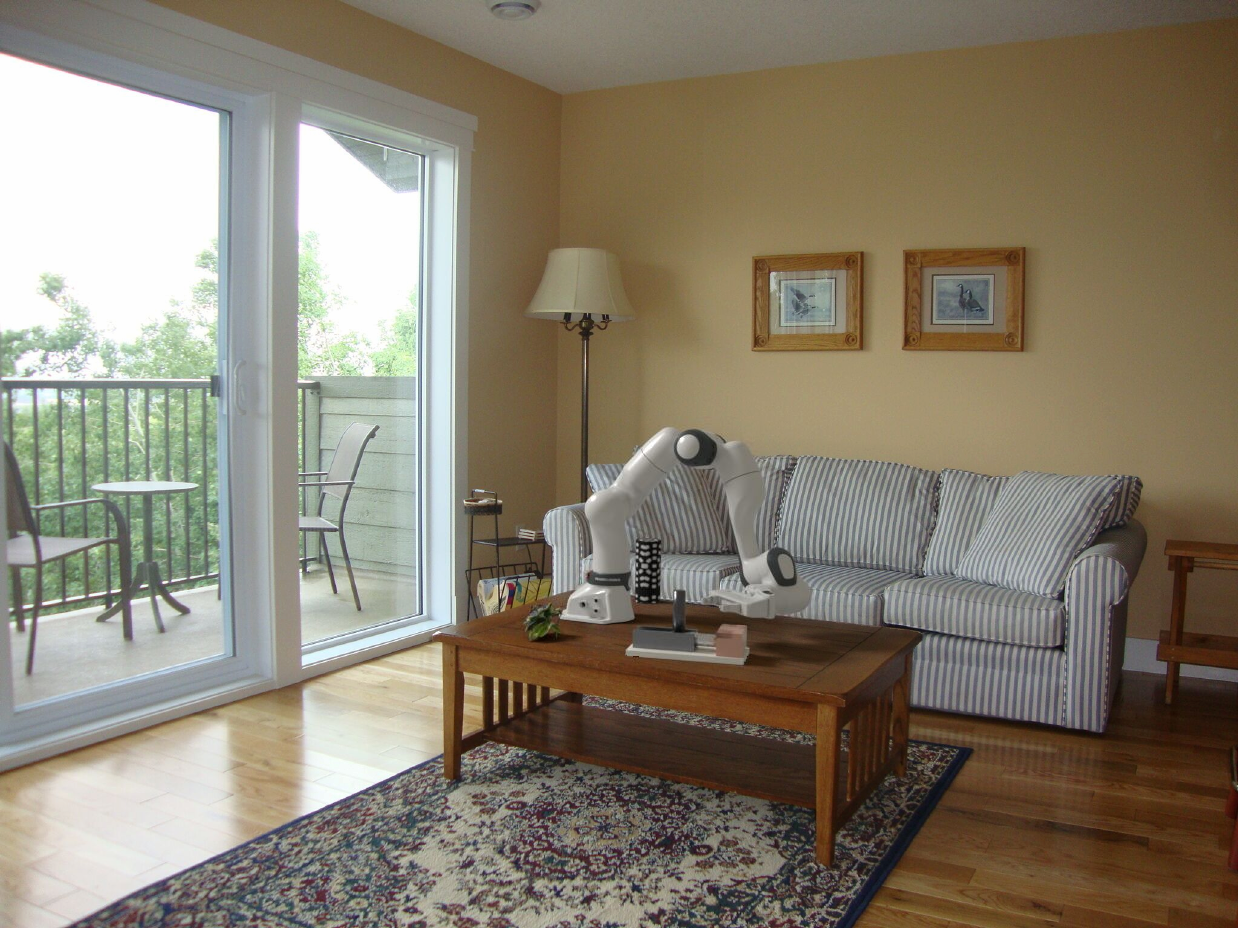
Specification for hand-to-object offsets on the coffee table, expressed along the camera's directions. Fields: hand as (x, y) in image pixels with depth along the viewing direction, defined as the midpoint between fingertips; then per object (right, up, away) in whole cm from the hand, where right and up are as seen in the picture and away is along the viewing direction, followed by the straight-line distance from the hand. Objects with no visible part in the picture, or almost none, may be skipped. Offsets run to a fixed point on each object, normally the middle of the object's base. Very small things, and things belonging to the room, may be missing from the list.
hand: (711, 604), depth 263 cm
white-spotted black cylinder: (-15, -8, +64) cm, 67 cm away
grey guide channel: (-12, -11, -2) cm, 16 cm away
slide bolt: (-3, -10, -5) cm, 11 cm away
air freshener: (-33, -8, +63) cm, 71 cm away
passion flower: (-44, -11, +13) cm, 48 cm away
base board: (-6, -12, -4) cm, 14 cm away
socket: (+4, -11, -7) cm, 14 cm away
